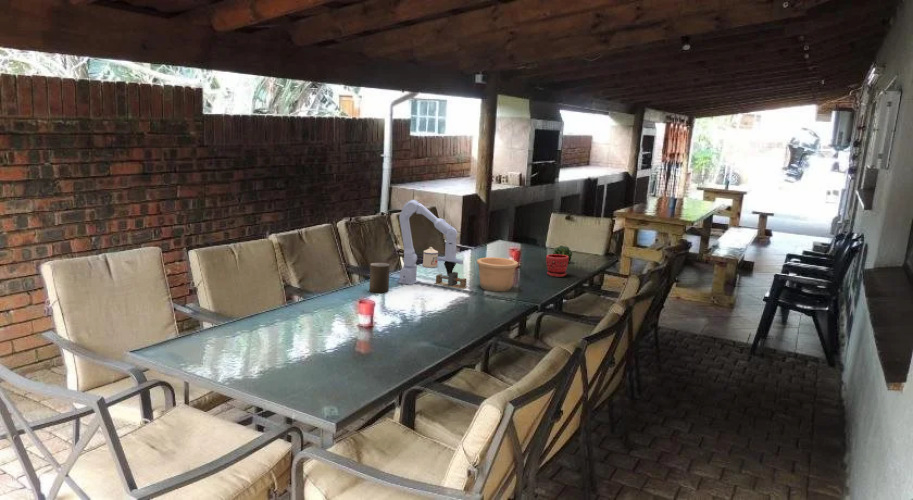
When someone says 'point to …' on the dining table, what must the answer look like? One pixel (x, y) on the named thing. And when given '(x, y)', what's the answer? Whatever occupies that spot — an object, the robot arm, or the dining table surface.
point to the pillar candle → (379, 277)
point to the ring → (452, 278)
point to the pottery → (496, 273)
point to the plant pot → (557, 265)
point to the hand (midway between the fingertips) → (449, 275)
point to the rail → (462, 281)
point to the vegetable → (563, 251)
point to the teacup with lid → (430, 258)
